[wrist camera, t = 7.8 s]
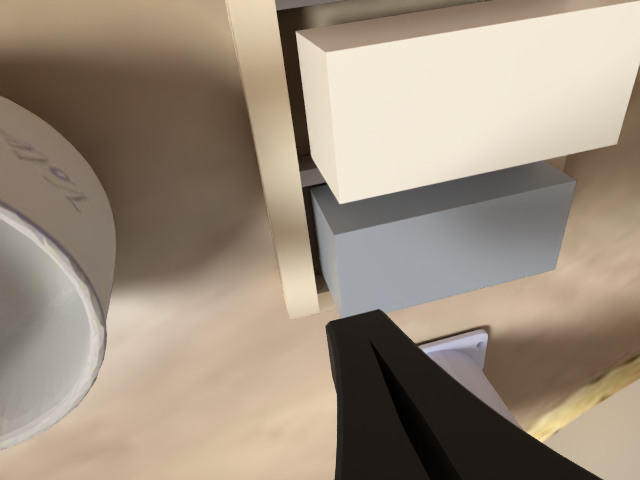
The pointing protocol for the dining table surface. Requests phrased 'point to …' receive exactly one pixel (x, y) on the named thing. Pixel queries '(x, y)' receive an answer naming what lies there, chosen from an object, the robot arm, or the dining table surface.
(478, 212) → the grey rectangular block
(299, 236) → the wooden tray
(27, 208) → the teacup
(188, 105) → the dining table surface
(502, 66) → the ivory key
